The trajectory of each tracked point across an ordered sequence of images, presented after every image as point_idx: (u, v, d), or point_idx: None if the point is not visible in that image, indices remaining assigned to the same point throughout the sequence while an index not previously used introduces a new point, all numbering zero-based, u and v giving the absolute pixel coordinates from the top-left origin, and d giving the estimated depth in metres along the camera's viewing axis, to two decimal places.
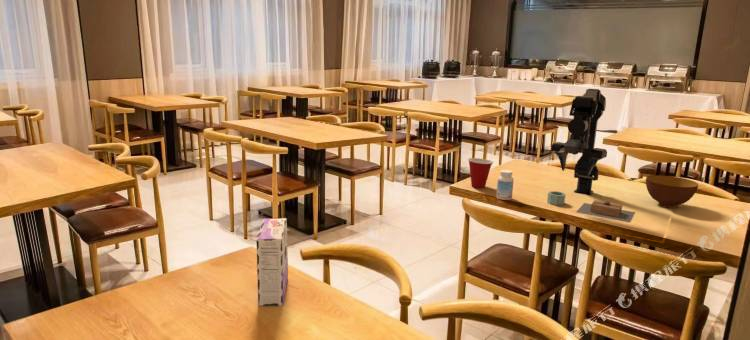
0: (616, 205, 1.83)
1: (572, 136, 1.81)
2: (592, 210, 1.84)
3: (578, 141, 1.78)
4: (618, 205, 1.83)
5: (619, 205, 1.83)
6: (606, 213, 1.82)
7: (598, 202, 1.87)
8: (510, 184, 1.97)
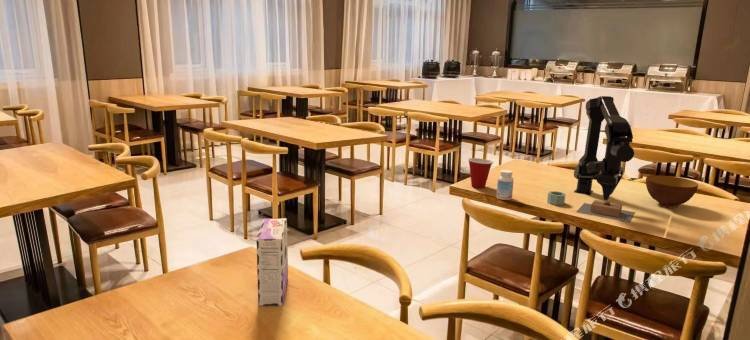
0: (616, 205, 1.83)
1: None
2: (592, 210, 1.84)
3: (598, 162, 1.82)
4: (618, 205, 1.83)
5: (619, 205, 1.83)
6: (606, 213, 1.82)
7: (598, 202, 1.87)
8: (510, 184, 1.97)
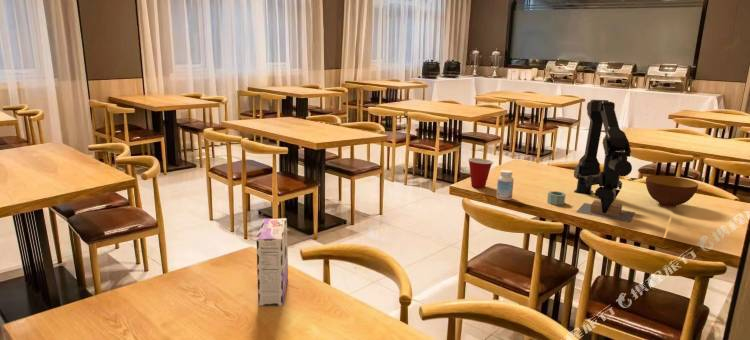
0: (616, 205, 1.83)
1: None
2: (592, 210, 1.84)
3: (596, 176, 1.83)
4: (618, 205, 1.83)
5: (619, 205, 1.83)
6: (606, 213, 1.82)
7: (598, 202, 1.87)
8: (510, 184, 1.97)
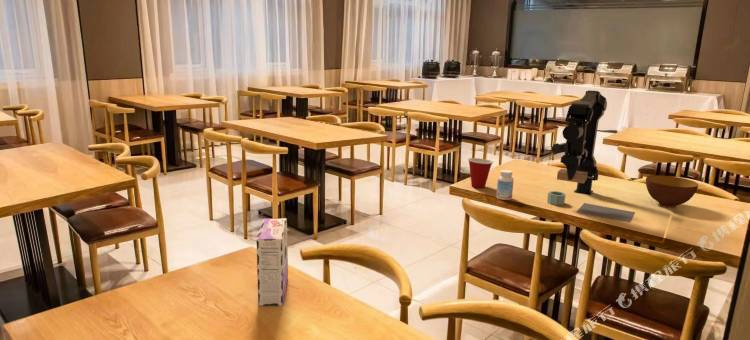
0: (581, 172, 1.88)
1: None
2: (558, 178, 1.89)
3: (562, 144, 1.88)
4: (583, 172, 1.88)
5: (584, 172, 1.88)
6: (572, 180, 1.86)
7: (565, 170, 1.91)
8: (510, 184, 1.97)
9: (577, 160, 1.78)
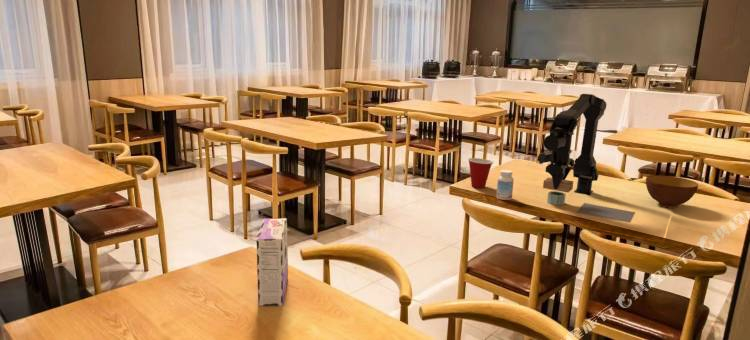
0: (567, 181, 1.92)
1: None
2: (544, 186, 1.93)
3: (548, 154, 1.91)
4: (569, 181, 1.92)
5: (570, 181, 1.92)
6: (557, 189, 1.90)
7: (551, 179, 1.95)
8: (510, 184, 1.97)
9: (561, 170, 1.82)
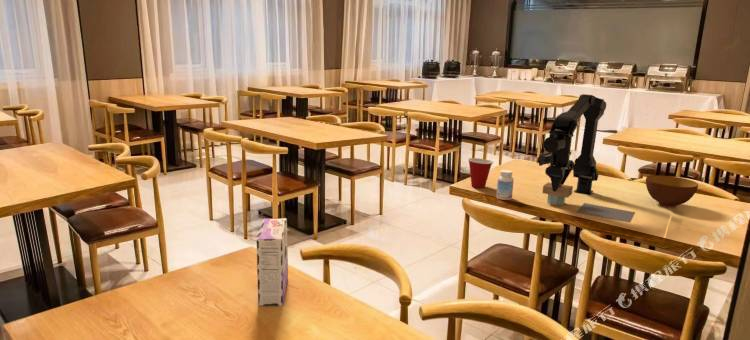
0: (567, 186, 1.92)
1: None
2: (544, 191, 1.93)
3: (548, 155, 1.92)
4: (569, 186, 1.92)
5: (570, 186, 1.92)
6: (557, 194, 1.90)
7: (551, 183, 1.96)
8: (510, 184, 1.97)
9: (561, 172, 1.82)
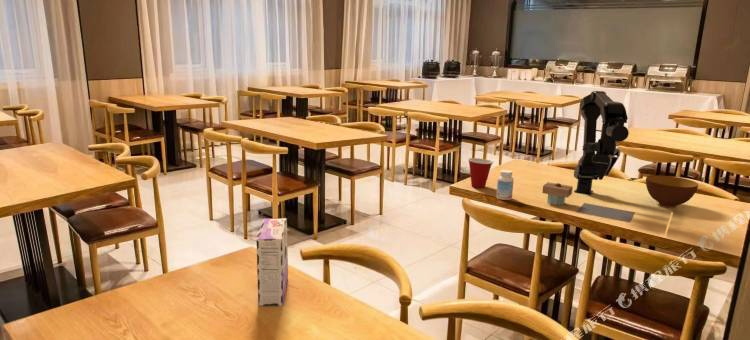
0: (566, 186, 1.92)
1: None
2: (544, 191, 1.93)
3: (594, 143, 1.88)
4: (568, 186, 1.92)
5: (569, 186, 1.92)
6: (557, 194, 1.91)
7: (550, 183, 1.96)
8: (510, 184, 1.97)
9: (608, 159, 1.79)
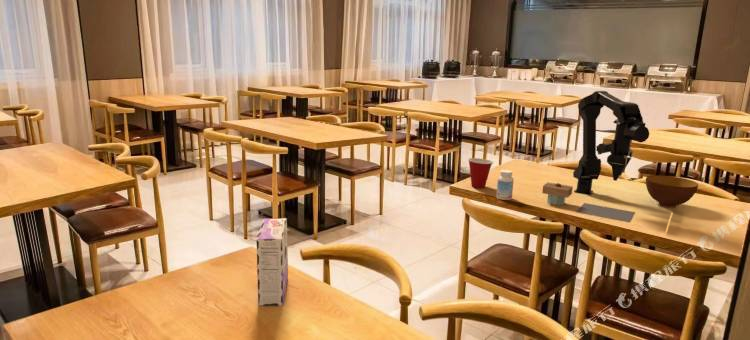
0: (566, 186, 1.92)
1: None
2: (544, 191, 1.93)
3: (608, 144, 1.87)
4: (568, 186, 1.92)
5: (569, 186, 1.92)
6: (557, 194, 1.91)
7: (550, 183, 1.96)
8: (510, 184, 1.97)
9: (624, 160, 1.78)
